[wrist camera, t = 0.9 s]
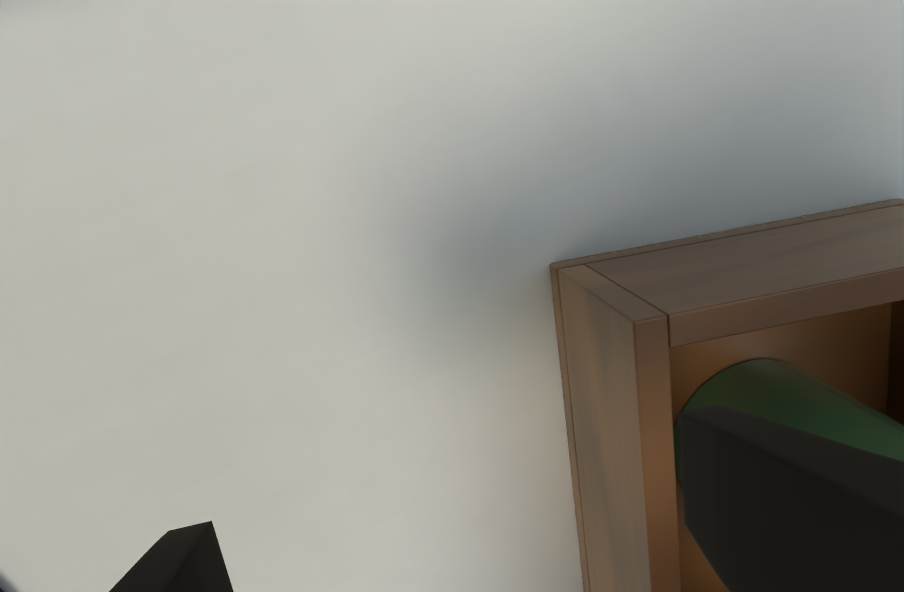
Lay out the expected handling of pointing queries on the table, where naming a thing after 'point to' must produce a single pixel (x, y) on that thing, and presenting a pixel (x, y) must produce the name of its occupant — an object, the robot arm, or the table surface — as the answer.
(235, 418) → the table surface
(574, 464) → the box
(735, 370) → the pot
